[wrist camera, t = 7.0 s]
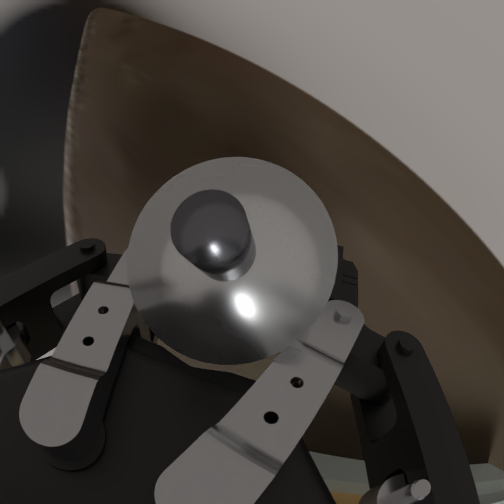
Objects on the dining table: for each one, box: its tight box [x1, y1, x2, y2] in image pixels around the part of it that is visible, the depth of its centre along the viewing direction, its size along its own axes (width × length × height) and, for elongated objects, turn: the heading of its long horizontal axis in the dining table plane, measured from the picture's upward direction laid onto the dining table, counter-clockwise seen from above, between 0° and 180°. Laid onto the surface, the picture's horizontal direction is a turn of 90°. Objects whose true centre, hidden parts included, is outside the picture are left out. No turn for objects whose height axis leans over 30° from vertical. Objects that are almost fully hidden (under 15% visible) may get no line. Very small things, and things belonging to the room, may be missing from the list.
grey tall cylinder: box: [127, 157, 338, 365], centre depth 10 cm, size 4×4×12 cm
